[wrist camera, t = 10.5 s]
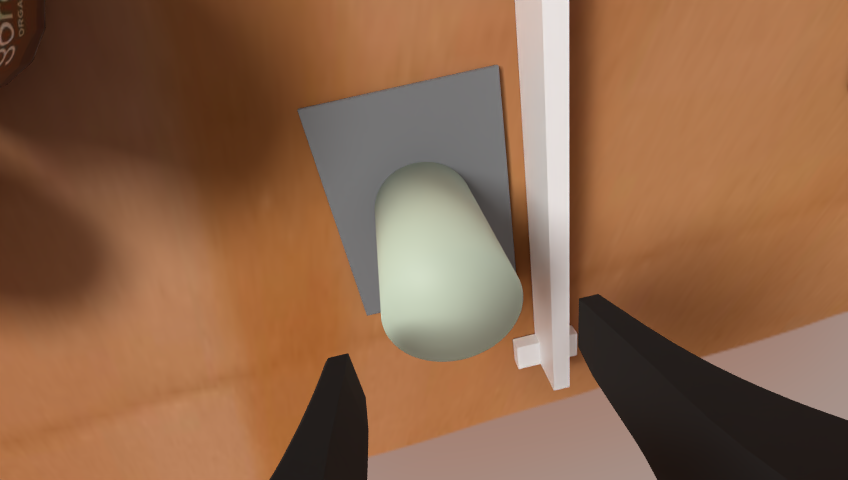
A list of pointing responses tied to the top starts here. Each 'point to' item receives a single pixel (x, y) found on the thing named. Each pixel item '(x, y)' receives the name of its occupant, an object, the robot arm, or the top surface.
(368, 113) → the mat
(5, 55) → the food container
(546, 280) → the low wall
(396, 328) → the green cylinder
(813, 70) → the top surface
